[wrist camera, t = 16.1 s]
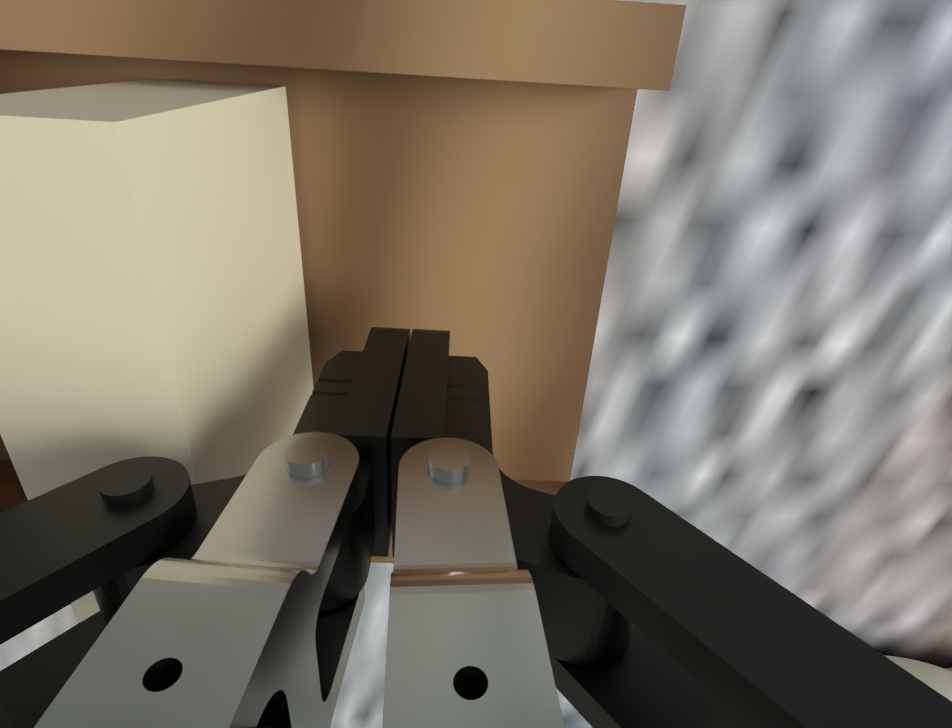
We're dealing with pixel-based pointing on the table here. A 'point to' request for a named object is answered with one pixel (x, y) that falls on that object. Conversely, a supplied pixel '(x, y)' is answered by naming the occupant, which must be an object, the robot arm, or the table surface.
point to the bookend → (148, 280)
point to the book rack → (415, 166)
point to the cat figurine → (928, 674)
